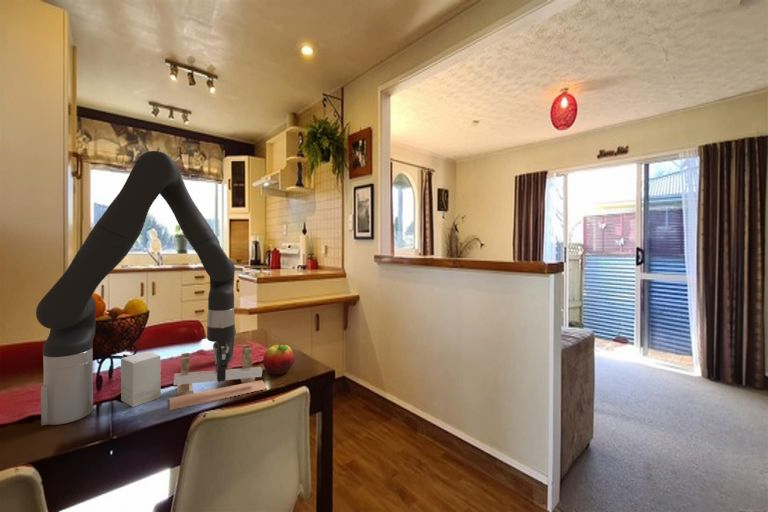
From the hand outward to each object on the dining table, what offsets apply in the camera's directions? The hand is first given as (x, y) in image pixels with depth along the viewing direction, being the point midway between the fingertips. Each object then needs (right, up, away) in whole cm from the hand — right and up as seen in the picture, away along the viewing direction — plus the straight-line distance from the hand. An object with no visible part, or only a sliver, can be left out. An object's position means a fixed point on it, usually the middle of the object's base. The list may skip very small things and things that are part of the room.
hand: (220, 378), depth 100 cm
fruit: (+12, -5, +19) cm, 23 cm away
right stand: (+3, -4, +12) cm, 13 cm away
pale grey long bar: (0, 0, 0) cm, 0 cm away
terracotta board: (0, -5, 0) cm, 5 cm away
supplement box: (-21, -5, -4) cm, 22 cm away
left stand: (-12, -4, +2) cm, 13 cm away
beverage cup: (-11, -3, +26) cm, 29 cm away
